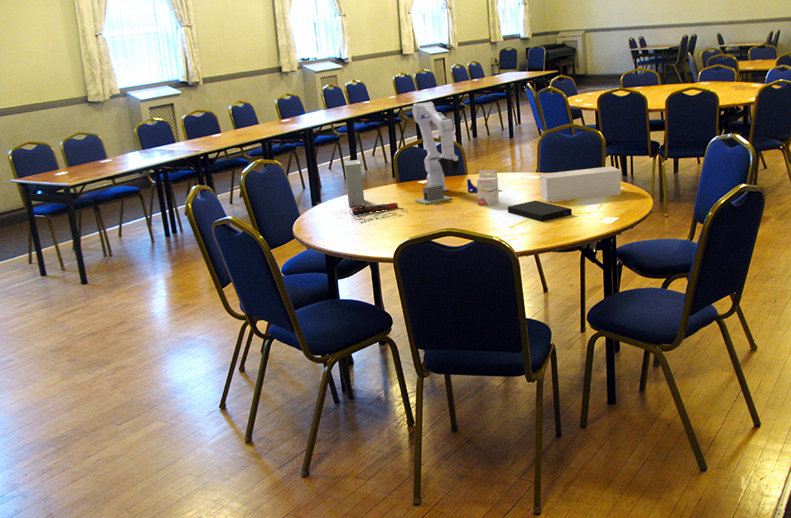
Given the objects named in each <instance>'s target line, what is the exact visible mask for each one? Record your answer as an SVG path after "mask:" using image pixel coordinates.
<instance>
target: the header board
mask: <svg viewBox="0 0 791 518" xmlns="http://www.w3.org/2000/svg"><path fill="white" fill-rule="evenodd" d="M450 199H452V197H450V196H448V195H447V196H446V195H444V198H441V199H436V200H431V201H428V199H427V200H424V197H423V198H419V199H414V202H415V201H416V202H415V203H418V202H419V203H418V204H421V203H422V205H424V204H425V206H427V205H432V204H436V202H437V203H441V201H442V202H446V201H445V200H447V201H451V200H450ZM431 203H432V204H431ZM426 204H427V205H426Z"/></svg>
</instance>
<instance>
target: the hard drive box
mask: <svg viewBox="0 0 791 518" xmlns="http://www.w3.org/2000/svg"><path fill="white" fill-rule="evenodd" d="M343 163H344V174H345V181H346V182H345V183H346V193H347V201H348V207H349V206H352V207H355V206H354V205H363V204H366V203H365V196H364V195H365V194H364V185H363V176H362V168H361V167H362V166H361V161H360V159H355V160H352V159H351V160H347V161H343Z"/></svg>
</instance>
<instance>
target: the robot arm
mask: <svg viewBox="0 0 791 518" xmlns="http://www.w3.org/2000/svg"><path fill="white" fill-rule="evenodd" d="M411 112H412V117H413V118H414V122H415V123H416V124H418V126H419V129H420V132H421V133H420V134H421V137H422V139H423V143H424V147H425V150H426V153H427V155H426V157H425V158H424V160H423V162H424V169H425V171H426V172H427V175H426V186H430V185H436V184H440V185H443V192H445V191H449V190H450V189H449V188H446V183H445V182H446V181H445V175H446V174H448V173H449V169H450V175H451V177H452V176H457V172H458V167H459V164H460V163H461V162H460V159H459V156H458V155H456V153H455V147H454V146H455V144H454V131H455V122H454V120H453V119H452V118H447V117H446V116H445V115H444V114H443V113H442V112H441V111H440V112H438V111H437V110H436V107H435V105H434V103H433V101H427V102H419V103H413V105H412V111H411ZM430 122H432V123H433V124H434V125H435V126H436V127H437V131H438V134H439V137H440V144H441V145H440V146H441V153H440V152H439V151H438V149H437V146H436V143H435V140H434V135H433V132H432V128H431V125H430Z"/></svg>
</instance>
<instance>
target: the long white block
mask: <svg viewBox="0 0 791 518" xmlns="http://www.w3.org/2000/svg"><path fill="white" fill-rule="evenodd" d="M621 172H622V171H621V169H619V168H616V167H614V166H603V167H602V166H601V167H593V168H585V169H575V170H567V171H557V172H547V173H540V174H539V181H540V182H539V183H540V198H541V197H542V198H543V199H544V201H545V200H546V201H547V202H548V203H551V202H550V201H557V202H561V201H560V200H566V201H571V200H570V199H575V200H581V199H580V198H584V199H589V198H590V199H592V198H601V197H609V196H617V195H618V196H619V195H622V187H621V186H622V175H621V174H622V173H621ZM542 198H541V199H542ZM543 199H542V200H543ZM546 201H545V202H546ZM547 202H546V203H547Z"/></svg>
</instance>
